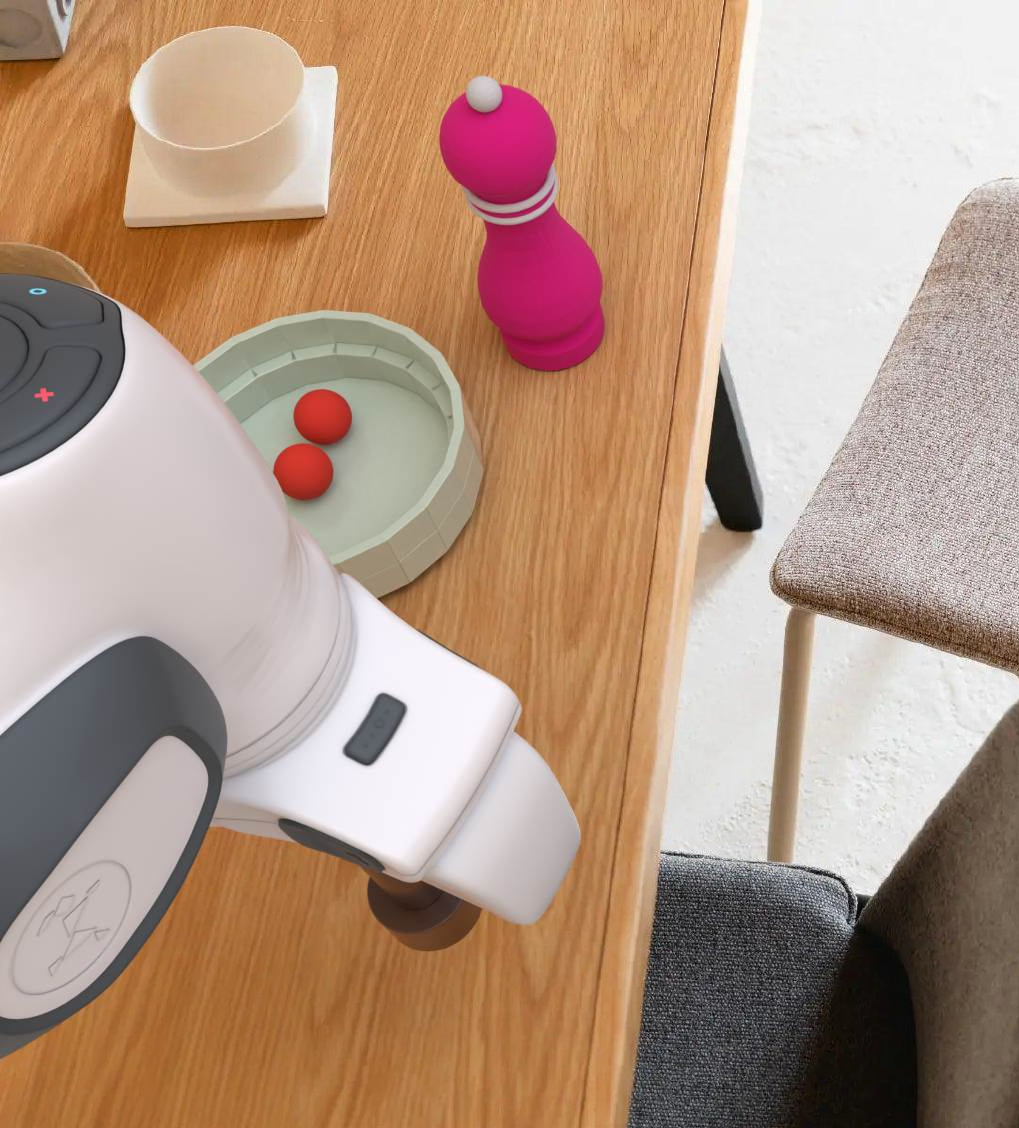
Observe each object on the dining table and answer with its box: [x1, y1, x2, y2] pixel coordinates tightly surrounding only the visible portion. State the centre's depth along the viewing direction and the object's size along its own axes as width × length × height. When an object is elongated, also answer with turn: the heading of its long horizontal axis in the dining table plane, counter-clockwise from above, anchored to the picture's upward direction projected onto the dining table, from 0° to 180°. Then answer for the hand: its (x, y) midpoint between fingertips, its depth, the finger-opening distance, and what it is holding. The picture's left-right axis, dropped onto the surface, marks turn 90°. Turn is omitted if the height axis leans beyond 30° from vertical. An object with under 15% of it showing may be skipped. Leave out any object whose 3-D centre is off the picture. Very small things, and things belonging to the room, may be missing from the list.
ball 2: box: [273, 443, 333, 500], centre depth 85 cm, size 3×3×3 cm
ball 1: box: [293, 389, 352, 445], centre depth 87 cm, size 3×3×3 cm
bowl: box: [192, 309, 485, 599], centre depth 85 cm, size 17×17×6 cm
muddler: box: [359, 866, 483, 952], centre depth 61 cm, size 4×4×16 cm
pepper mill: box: [438, 75, 606, 372], centre depth 84 cm, size 7×7×20 cm
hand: (360, 824), depth 58 cm, fingers closed on muddler, 2 cm apart
